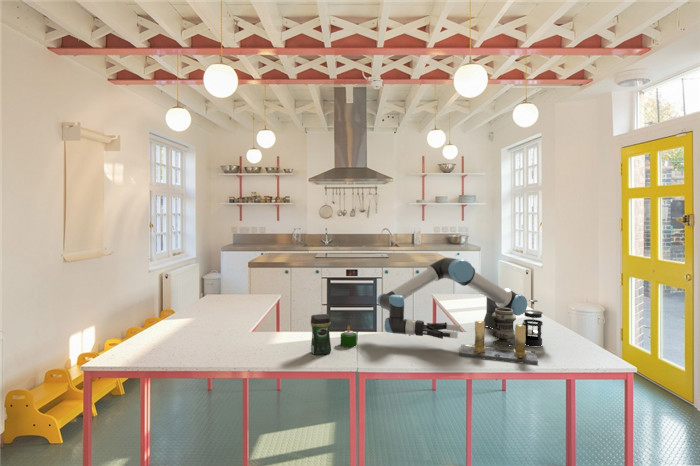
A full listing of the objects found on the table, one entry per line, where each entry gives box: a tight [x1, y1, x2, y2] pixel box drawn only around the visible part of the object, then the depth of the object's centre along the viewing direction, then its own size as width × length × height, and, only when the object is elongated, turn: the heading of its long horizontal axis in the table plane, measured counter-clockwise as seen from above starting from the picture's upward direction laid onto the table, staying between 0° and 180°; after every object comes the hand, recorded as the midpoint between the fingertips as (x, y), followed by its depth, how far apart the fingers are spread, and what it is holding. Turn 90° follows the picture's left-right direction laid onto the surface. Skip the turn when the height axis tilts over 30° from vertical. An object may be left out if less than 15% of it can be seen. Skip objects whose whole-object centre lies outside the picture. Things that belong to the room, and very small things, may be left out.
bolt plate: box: [458, 323, 539, 365], centre depth 196 cm, size 34×14×15 cm, turn 70°
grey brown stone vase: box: [490, 308, 517, 347], centre depth 214 cm, size 12×12×18 cm
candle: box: [340, 325, 358, 348], centre depth 212 cm, size 8×8×10 cm
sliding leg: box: [474, 320, 486, 353], centre depth 197 cm, size 5×8×14 cm, turn 160°
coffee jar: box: [310, 313, 332, 356], centre depth 200 cm, size 10×8×19 cm
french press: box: [521, 299, 544, 347], centre depth 213 cm, size 12×9×23 cm
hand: (458, 331), depth 202 cm, fingers open, 13 cm apart
